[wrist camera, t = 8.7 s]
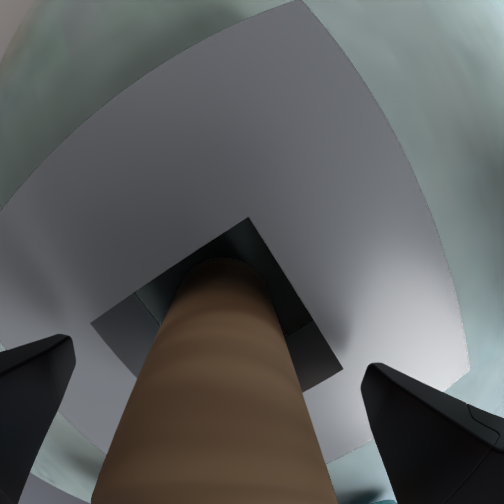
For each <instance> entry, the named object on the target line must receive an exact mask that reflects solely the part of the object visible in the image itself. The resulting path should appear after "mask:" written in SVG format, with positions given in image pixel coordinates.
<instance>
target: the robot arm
mask: <svg viewBox="0 0 504 504" xmlns="http://www.w3.org/2000/svg"><path fill="white" fill-rule="evenodd" d="M75 366H76V356H75V350H74V345H73V340H72V338H71V337H70V336H69V335H64V334H56V335H53V336H50V337H47V338H43V339H40V340H37V341H34V342H31V343H28V344H25V345H22V346H18V347H15V348H12V349H9V350H6V351H2V352H0V504H18V502H19V499H20V496H21V494H22V491H23V488H24V486H25V483H26V481H27V478H28V475H29V473H30V470H31V468H32V466H33V463H34V461H35V458H36V456H37V454H38V452H39V449H40V447H41V445H42V443H43V440H44V438H45V436H46V434H47V432H48V429H49V427H50V425H51V423H52V421H53V419H54V417H55V415H56V413H57V411H58V409H59V407H60V404H61V402H62V400H63V397H64V395H65V392H66V389H67V386H68V384H69V381H70V379H71V376H72V373H73V371H74V368H75ZM360 389H361V394H362V398H363V402H364V406H365V410H366V413H367V417H368V421H369V425H370V428H371V431H372V434H373V437H374V440H375V442H376V445H377V447H378V450H379V453H380V456H381V458H382V461H383V464H384V466H385V469H386V472H387V475H388V477H389V480H390V483H391V486H392V489H393V492H394V495H395V497H396V500H397V503H398V504H504V418H502V417H499V416H496V415H493V414H491V413H488V412H486V411H483V410H481V409H479V408H476V407H474V406H472V405H470V404H466V403H465V402H463V401H461V400H459V399H456V398H454V397H452V396H450V395H448V394H446V393H444V392H441V391H439V390H437V389H435V388H433V387H431V386H429V385H427V384H425V383H422V382H420V381H418V380H416V379H414V378H412V377H410V376H408V375H406V374H404V373H402V372H400V371H398V370H396V369H394V368H392V367H390V366H388V365H386V364H384V363H381V362H377V363H370V364H369V365H368V366H367V368H366V371H365V374H364V377H363V380H362V382H361V387H360Z"/></svg>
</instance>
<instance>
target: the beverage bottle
mask: <svg viewBox="0 0 504 504" xmlns="http://www.w3.org/2000/svg"><path fill="white" fill-rule="evenodd" d="M372 504H398V503H396V502H395V501H394V500H384V501H379V502H375V503H372Z"/></svg>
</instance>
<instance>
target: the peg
mask: <svg viewBox="0 0 504 504" xmlns="http://www.w3.org/2000/svg"><path fill="white" fill-rule="evenodd" d="M91 504H338V501H337V498H336V495H335V492H334V489H333V485H332V482H331V479H330V476H329V473H328V470H327V467H326V464H325V461H324V458H323V455H322V452H321V448H320V445H319V442H318V439H317V436H316V433H315V430H314V427H313V424H312V421H311V418H310V415H309V412H308V409H307V406H306V403H305V400H304V396H303V393H302V390H301V387H300V384H299V381H298V378H297V375H296V372H295V369H294V366H293V363H292V360H291V357H290V354H289V351H288V348H287V345H286V342H285V339H284V336H283V333H282V330H281V327H280V324H279V321H278V318H277V315H276V312H275V309H274V305H273V302H272V299H271V296H270V293H269V290H268V288H267V285H266V283H265V281H264V279H263V278H262V277H261V275H260V274H259V273H258V272H257V271H256V270H255V269H254V268H252V267H251V266H249V265H248V264H246V263H244V262H242V261H239V260H236V259H231V258H214V259H210V260H206V261H204V262H201V263H200V264H198V265H196V266H195V267H193V268H192V269H191V270H190V271H189V272H188V273H187V274H186V275H185V277H184V278H183V280H182V282H181V284H180V286H179V288H178V290H177V292H176V294H175V296H174V298H173V300H172V302H171V305H170V307H169V309H168V311H167V313H166V315H165V317H164V320H163V322H162V324H161V326H160V328H159V330H158V333H157V335H156V337H155V339H154V341H153V344H152V346H151V348H150V350H149V353H148V355H147V357H146V359H145V362H144V364H143V366H142V369H141V371H140V373H139V376H138V378H137V380H136V383H135V385H134V387H133V390H132V392H131V395H130V397H129V399H128V402H127V404H126V407H125V409H124V412H123V414H122V417H121V419H120V422H119V424H118V427H117V429H116V432H115V434H114V437H113V439H112V442H111V445H110V447H109V450H108V453H107V455H106V458H105V461H104V463H103V466H102V469H101V472H100V474H99V477H98V480H97V483H96V486H95V489H94V491H93V494H92V497H91Z"/></svg>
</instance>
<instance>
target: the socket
mask: <svg viewBox="0 0 504 504" xmlns="http://www.w3.org/2000/svg"><path fill="white" fill-rule="evenodd" d="M247 217H249V218H250V220H251V221H252V223H253V224H254V226H255V228H256V229H257V231H258V232H259V234H260V235H261V237H262V239H263V240H264V242H265V243H266V245H267V246H268V248H269V250H270V251H271V253H272V254H273V256H274V257H275V259H276V261H277V262H278V264H279V265H280V267H281V269H282V270H283V272H284V273H285V275H286V277H287V278H288V280H289V281H290V283H291V284H292V286H293V288H294V289H295V291H296V292H297V294H298V296H299V297H300V299H301V300H302V302H303V304H304V305H305V307H306V309H307V310H308V312H309V313H310V315H311V317H312V318H313V321H312V322H310V323H309V324H307V325H305V326H304V327H302V328H300V329H299V330H297V331H295V332H294V333H292V334H290V335H289V336H287V337H285V338H284V339H285V342H286V345H287V348H288V351H289V354H290V357H291V360H292V363H293V366H294V369H295V372H296V375H297V378H298V381H299V384H300V387H301V390H302V393H303V396H304V400H305V403H306V406H307V409H308V412H309V415H310V418H311V421H312V424H313V427H314V430H315V433H316V436H317V439H318V442H319V445H320V448H321V452H322V455H323V458H324V461H325V464H328V463H330V462H332V461H334V460H336V459H338V458H340V457H342V456H344V455H346V454H348V453H350V452H352V451H354V450H355V449H357V448H359V447H361V446H363V445H365V444H366V443H368V442H370V441H372V440H373V439H374V437H373V434H372V431H371V428H370V425H369V421H368V417H367V413H366V410H365V406H364V402H363V398H362V394H361V389H360V387H361V382H362V380H363V377H364V374H365V371H366V368H367V366H368V365H369V364H370V363H377V362H381V363H384V364H386V365H388V366H390V367H392V368H394V369H396V370H398V371H400V372H402V373H404V374H406V375H408V376H410V377H412V378H414V379H416V380H418V381H420V382H422V383H425V384H427V385H429V386H431V387H433V388H435V389H437V390H439V391H441V392H444V391H445V390H447V389H448V388H449V387H450V386H451V385H453V384H454V383H455V382H456V381H457V380H459V379H460V378H461V377H462V376H463V375H464V374H466V373H467V372H468V371H469V370H470V364H469V357H468V350H467V344H466V338H465V333H464V328H463V322H462V318H461V313H460V308H459V304H458V300H457V296H456V292H455V288H454V284H453V280H452V276H451V273H450V269H449V266H448V263H447V259H446V256H445V253H444V250H443V247H442V244H441V241H440V238H439V235H438V232H437V229H436V226H435V223H434V221H433V218H432V215H431V213H430V210H429V207H428V205H427V202H426V200H425V198H424V195H423V193H422V190H421V188H420V186H419V183H418V181H417V179H416V176H415V174H414V172H413V170H412V168H411V166H410V163H409V161H408V159H407V157H406V155H405V153H404V151H403V149H402V147H401V145H400V143H399V141H398V139H397V137H396V135H395V133H394V132H393V130H392V128H391V126H390V124H389V122H388V121H387V119H386V117H385V115H384V113H383V112H382V110H381V108H380V107H379V105H378V103H377V102H376V100H375V98H374V97H373V95H372V93H371V92H370V90H369V88H368V87H367V85H366V84H365V82H364V81H363V79H362V78H361V76H360V75H359V73H358V72H357V70H356V69H355V67H354V66H353V64H352V63H351V61H350V60H349V59H348V57H347V56H346V54H345V53H344V52H343V50H342V49H341V47H340V46H339V45H338V43H337V42H336V41H335V39H334V38H333V37H332V36H331V34H330V33H329V32H328V30H327V29H326V28H325V27H324V25H323V24H322V23H321V22H320V21H319V19H318V18H317V17H316V16H315V15H314V13H313V12H312V11H311V10H310V9H309V8H308V6H307V5H306V4H305V3H304V2H303V1H302V0H295V1H292V2H289V3H286V4H283V5H280V6H277V7H275V8H272V9H269V10H267V11H264V12H262V13H259V14H257V15H255V16H252V17H250V18H247V19H245V20H243V21H241V22H238V23H236V24H234V25H232V26H230V27H228V28H226V29H223V30H221V31H219V32H217V33H215V34H213V35H211V36H209V37H208V38H206V39H204V40H202V41H200V42H198V43H196V44H195V45H193V46H191V47H189V48H187V49H186V50H184V51H182V52H180V53H179V54H177V55H175V56H174V57H172V58H170V59H169V60H167V61H166V62H164V63H162V64H161V65H159V66H158V67H156V68H155V69H153V70H152V71H150V72H149V73H147V74H146V75H144V76H143V77H141V78H140V79H138V80H137V81H135V82H134V83H133V84H131V85H130V86H128V87H127V88H126V89H124V90H123V91H122V92H120V93H119V94H118V95H116V96H115V97H114V98H112V99H111V100H110V101H109V102H107V103H106V104H105V105H104V106H102V107H101V108H100V109H99V110H97V111H96V112H95V113H94V114H93V115H91V116H90V117H89V118H88V119H87V120H86V121H84V122H83V123H82V124H81V125H80V126H79V127H78V128H77V129H75V130H74V131H73V132H72V133H71V134H70V135H69V136H68V137H67V138H66V139H65V140H64V141H63V142H62V143H60V144H59V145H58V146H57V147H56V148H55V149H54V150H53V151H52V152H51V153H50V154H49V155H48V156H47V157H46V159H45V160H44V161H43V162H42V163H41V164H40V165H39V166H38V167H37V168H36V169H35V170H34V171H33V172H32V174H31V175H30V176H29V177H28V178H27V179H26V180H25V181H24V183H23V184H22V185H21V186H20V187H19V188H18V190H17V191H16V192H15V193H14V194H13V196H12V197H11V198H10V199H9V201H8V202H7V203H6V204H5V206H4V207H3V208H2V210H1V211H0V342H1V343H2V345H3V346H4V348H5V349H6V350H9V349H12V348H15V347H18V346H22V345H25V344H28V343H31V342H34V341H37V340H40V339H43V338H47V337H50V336H53V335H56V334H64V335H69V336H70V337H71V338H72V340H73V345H74V350H75V356H76V366H75V368H74V371H73V373H72V376H71V379H70V381H69V384H68V386H67V389H66V392H65V395H64V397H63V400H62V402H61V404H60V407H59V409H58V412H59V413H60V414H61V415H62V416H63V417H64V418H65V419H66V420H67V421H68V422H69V423H70V424H71V425H72V426H74V427H75V428H76V429H77V430H78V431H79V432H80V433H81V434H82V435H83V436H84V437H86V438H87V439H88V440H89V441H90V442H91V443H92V444H94V445H95V446H96V447H97V448H98V449H100V450H101V451H102V452H103V453H104V454H106V455H107V453H108V450H109V447H110V445H111V442H112V439H113V437H114V434H115V432H116V429H117V427H118V424H119V422H120V419H121V417H122V414H123V412H124V409H125V407H126V404H127V402H128V399H129V397H130V395H131V392H132V390H133V387H134V385H135V383H136V380H137V378H138V376H139V373H140V371H141V369H142V366H143V364H144V362H145V359H146V357H147V355H148V353H149V350H150V348H151V346H152V344H153V341H154V339H155V337H156V335H157V333H158V330H159V328H160V325H159V324H158V323H157V321H156V320H155V319H154V318H153V316H152V315H151V314H150V313H149V311H148V310H147V309H146V307H145V306H144V305H143V303H142V302H141V301H140V299H139V298H138V297H137V295H136V294H135V293H134V292H135V291H137V290H138V289H140V288H141V287H143V286H144V285H146V284H147V283H148V282H150V281H151V280H153V279H154V278H156V277H157V276H159V275H160V274H162V273H163V272H165V271H166V270H168V269H169V268H171V267H172V266H174V265H175V264H177V263H178V262H180V261H181V260H183V259H184V258H186V257H187V256H189V255H190V254H192V253H193V252H195V251H196V250H198V249H199V248H201V247H202V246H204V245H205V244H207V243H209V242H210V241H212V240H213V239H215V238H216V237H218V236H219V235H221V234H222V233H224V232H225V231H227V230H229V229H230V228H232V227H233V226H235V225H236V224H238V223H239V222H241V221H243V220H244V219H246V218H247Z"/></svg>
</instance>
